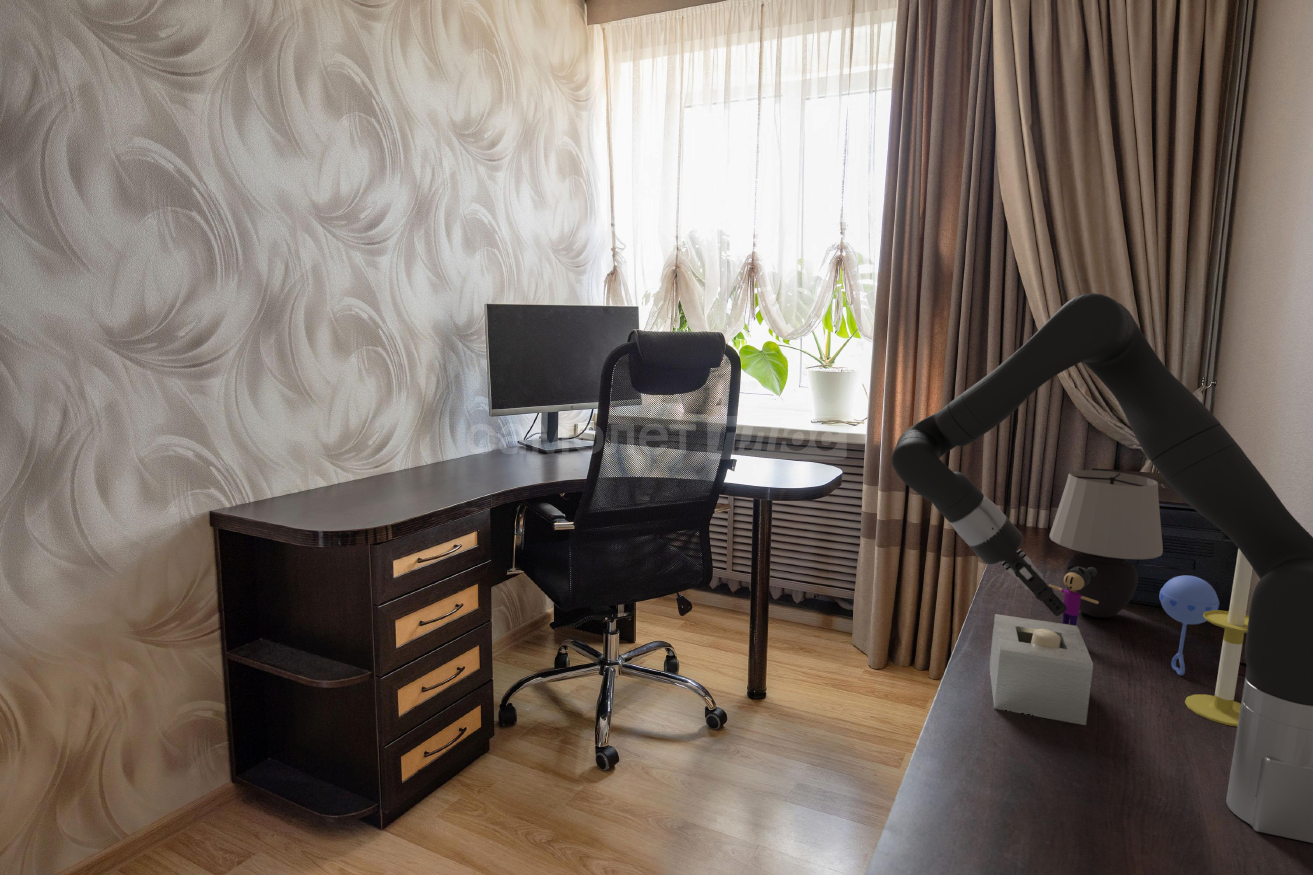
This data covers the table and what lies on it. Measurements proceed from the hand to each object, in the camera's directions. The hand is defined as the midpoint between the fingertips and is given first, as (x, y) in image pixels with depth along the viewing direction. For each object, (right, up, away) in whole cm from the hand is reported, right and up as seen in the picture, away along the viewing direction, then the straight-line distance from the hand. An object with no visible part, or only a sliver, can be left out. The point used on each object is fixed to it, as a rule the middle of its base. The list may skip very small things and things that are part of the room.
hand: (1053, 603), depth 126 cm
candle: (+26, -17, -1) cm, 32 cm away
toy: (+16, -13, +26) cm, 33 cm away
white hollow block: (-2, -16, +3) cm, 16 cm away
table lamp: (+29, -11, +39) cm, 50 cm away
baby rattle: (+28, -15, +12) cm, 34 cm away
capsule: (-2, -15, +3) cm, 15 cm away
